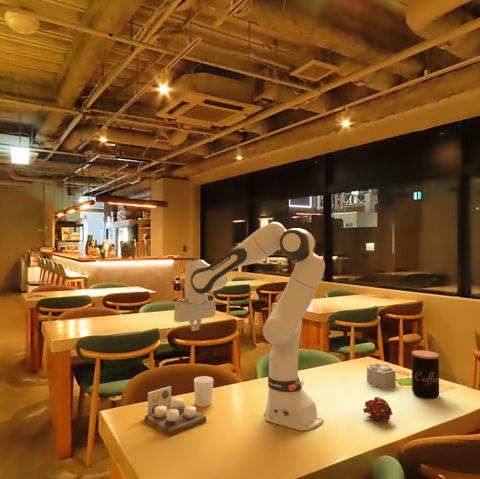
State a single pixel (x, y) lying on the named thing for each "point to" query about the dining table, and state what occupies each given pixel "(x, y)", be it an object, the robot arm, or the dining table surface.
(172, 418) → the button
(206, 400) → the white cup
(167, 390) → the card
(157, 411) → the button
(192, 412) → the button
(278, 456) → the dining table surface
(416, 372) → the coffee jar
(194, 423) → the board
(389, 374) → the grey toy brick
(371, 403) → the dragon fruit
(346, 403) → the dining table surface
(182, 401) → the button
